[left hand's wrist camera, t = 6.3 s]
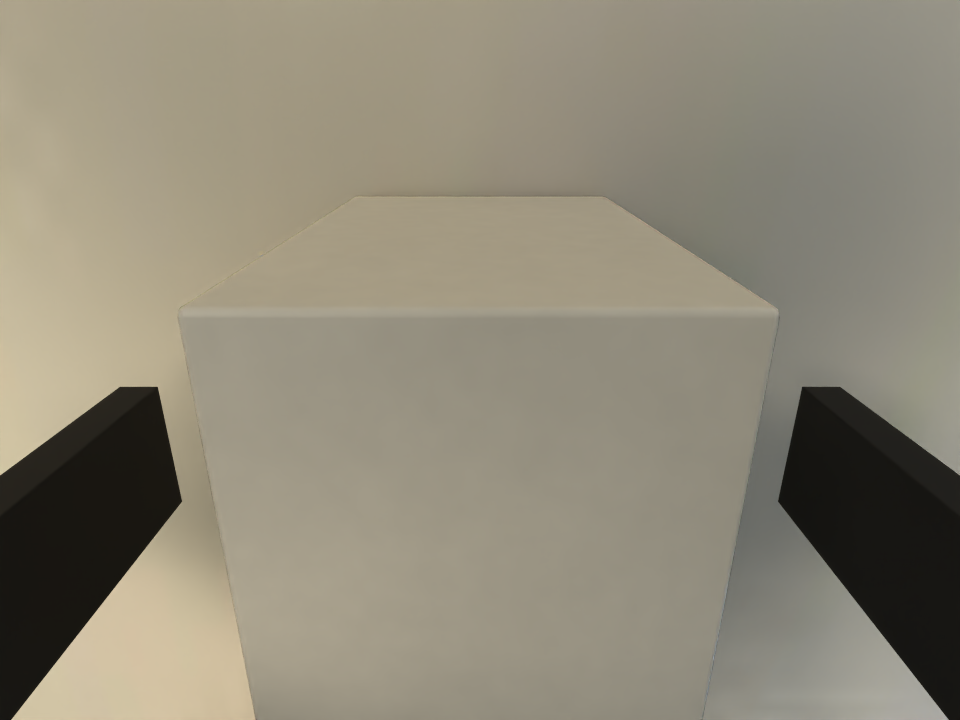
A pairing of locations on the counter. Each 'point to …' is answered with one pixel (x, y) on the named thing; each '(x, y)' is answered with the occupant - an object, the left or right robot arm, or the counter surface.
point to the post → (478, 459)
